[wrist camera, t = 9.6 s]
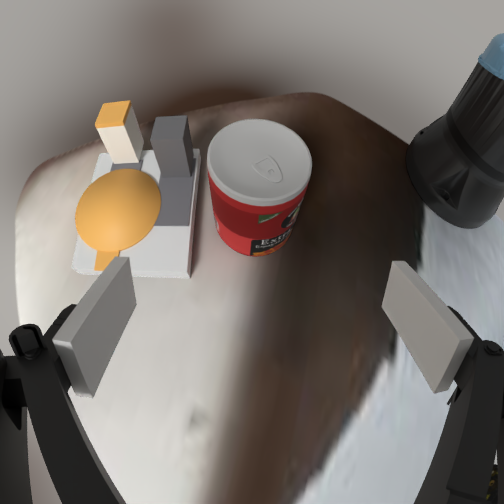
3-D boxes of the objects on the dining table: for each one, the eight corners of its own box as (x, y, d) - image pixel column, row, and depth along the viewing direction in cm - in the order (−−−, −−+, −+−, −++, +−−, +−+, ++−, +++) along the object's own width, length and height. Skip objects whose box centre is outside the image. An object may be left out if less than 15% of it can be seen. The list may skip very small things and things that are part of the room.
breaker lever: (144, 141, 33) (130, 100, 27) (138, 162, 32) (122, 121, 26) (120, 143, 33) (103, 103, 27) (114, 164, 32) (94, 124, 26)
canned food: (260, 274, 31) (271, 223, 20) (198, 226, 32) (183, 159, 22) (306, 220, 33) (333, 154, 23) (247, 178, 35) (250, 104, 24)
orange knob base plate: (201, 159, 35) (193, 108, 28) (190, 280, 30) (173, 247, 22) (99, 163, 35) (75, 119, 27) (73, 275, 30) (32, 245, 22)
